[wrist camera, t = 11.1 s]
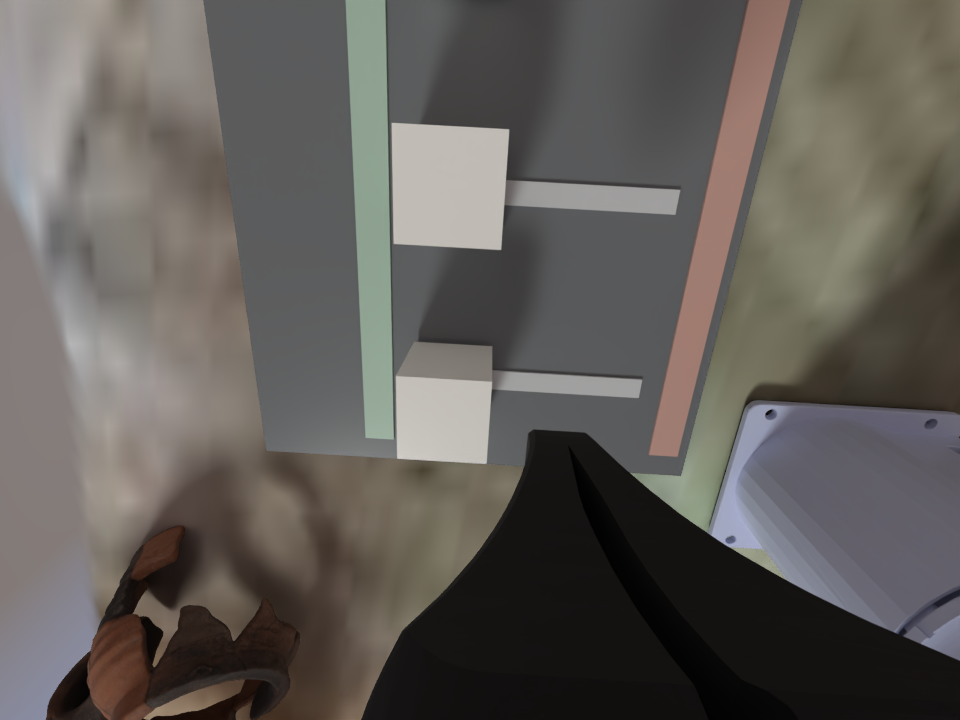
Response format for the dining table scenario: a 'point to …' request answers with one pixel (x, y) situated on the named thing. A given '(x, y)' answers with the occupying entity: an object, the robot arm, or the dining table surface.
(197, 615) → the pottery mug
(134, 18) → the dining table surface
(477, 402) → the block
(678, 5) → the panel
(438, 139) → the block
